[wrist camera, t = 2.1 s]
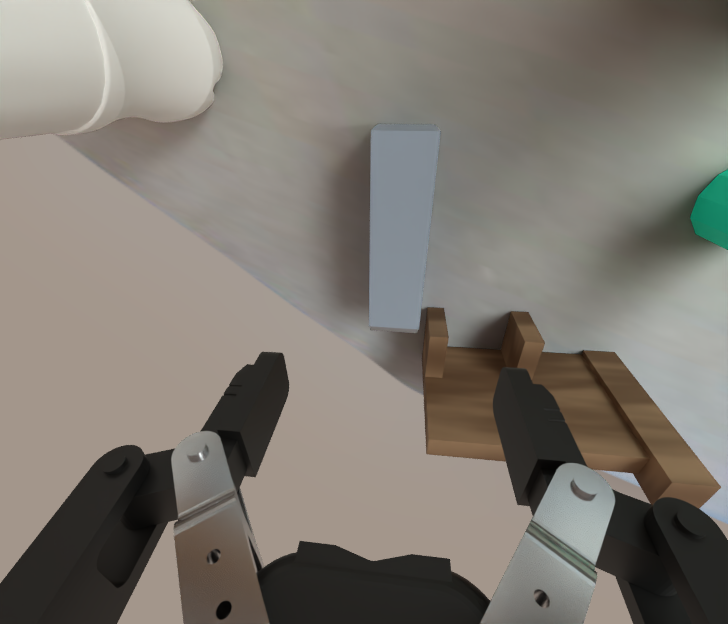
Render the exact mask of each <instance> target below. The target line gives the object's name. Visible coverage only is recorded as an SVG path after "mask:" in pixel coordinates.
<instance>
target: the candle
mask: <svg viewBox="0 0 728 624" xmlns="http://www.w3.org/2000/svg"><path fill="white" fill-rule="evenodd" d="M690 219H691V222H692V225H693V228H694V231H695V234H697V235H699V236H701V237H703V238H705V239H707V240H709V241H711V242H713V243H715V244H717V245H719V246H721V247H723V248H725V249H727V250H728V170H726V171H724V172H722V173H720V174H719V175H718V176H717V177H716V178H715V179H714V180H713V181H712V182H711V183H710V184H709V185H708V186H707V187H706V188H705V189H704V190H703V191H702V192H701V193H700V194H699V195H698V197H697V200H696V203H695V206H694V208H693V211H692V214H691V217H690Z"/></svg>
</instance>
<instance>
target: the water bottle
mask: <svg viewBox="0 0 728 624" xmlns="http://www.w3.org/2000/svg"><path fill="white" fill-rule="evenodd" d="M222 69H223V60H222V55H221V50H220V46H219V43H218V41H217V38H216V35H215V33H214V31H213V30H212V28H211V26H210V25H209V24H208V22H207V21H206V20H205V19H204V17H203V16H202V15H201V14H200V13H199V12H198V11H197V10H196V9H195V7H194V6H193V5H192V4H191V2H190V0H0V139H9V138H17V137H26V136H34V135H43V134H56V135H73V134H81V133H88V132H92V131H95V130H98V129H101V128H103V127H105V126H106V125H108V124H110V123H112V122H114V121H116V120H118V119H122V118H129V117H137V118H143V119H146V120H150V121H154V122H164V123H167V122H176V121H182V120H186V119H190V118H193V117H195V116H197V115H199V114H201V113H202V112H204V111H205V110H206V109H207V108H208V107H210V106H211V104H212V103H213V101H214V98H215V97H214V92H213V88H214V86H215V84H216V83H217V82H218V81H219V80H220V78H221V75H222Z"/></svg>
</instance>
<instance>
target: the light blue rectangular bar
mask: <svg viewBox="0 0 728 624" xmlns="http://www.w3.org/2000/svg"><path fill="white" fill-rule="evenodd" d="M440 134H441V131H440V130H439V128H438V127H437V126H436V125H435V124H377V125H376V126H375V127H374V128H373V129H372V130H371V175H370V278H369V326H370V330H376V331H391V332H406V333H417V329H418V330H419V324H420V315H421V306H422V297H423V288H424V279H425V270H426V260H427V251H428V242H429V233H430V224H431V215H432V206H433V197H434V188H435V179H436V170H437V161H438V152H439V143H440Z"/></svg>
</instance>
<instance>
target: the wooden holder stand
mask: <svg viewBox="0 0 728 624" xmlns="http://www.w3.org/2000/svg"><path fill="white" fill-rule="evenodd" d="M448 338H449V337H448V331H447V325H446V319H445V312H444V308H431V307H427V316H426V326H425V335H424V345H423V354H422V369H423V390H424V411H425V432H426V453H427V454H431V455H442V456H453V457H463V458H474V459H485V460H496V461H506V459H505V456H504V452H503V448H502V444H501V440H500V437H499V433H498V429H497V425H496V421H495V418H494V414H493V397H494V393H495V389H496V386H497V382H498V379H499V375H500V371H501V369H502V368H503V367H510V368H525V369H527V371H528V373H529V375H530V377H531V380H532V382H533V384H542V385H543V386H544V387H545V388H546V389H547V390H548V391H549V392H550V393H551V394H552V395H553V396H554V398H555V400H556V402H557V404H558V406H559V408H560V412H562V415H563V417H564V419H565V423H567V425H568V427H569V429H570V431H571V433H572V435H573V438H574V440H575V442H576V444H577V446H578V448H579V450H580V452H581V454H582V456H583V458H584V461H585V463H586V465H587V466H588V468H590V469H595V470H605V471H616V472H627V473H633V474H634V476H635V478H636V479H637V481H638V483H639V485H640V486H641V488H642V490H643V491H644V493H645V495H646V496H647V498H648V500H649V502H650V503H651V504H652V505H653V504H654V503H655V502H656V501H657V500H658V499H660V498H663V497H672V498H677V499H680V500H683V501H685V502H688V503H690V504H692V505H693V506H695V507H697V508H698V509H699V508H700V507H701V506H702V505H703V504H704V503H705V502H707V501H708V500H709V499H710V498H711V497H712V496H713V495H714V494H715V493H716V492H717V491H718V490H719V489H720V488H721V486H720V485H719V484H718V483H717V481H716V480H715V479H714V477H713V476H712V475H711V474H710V472H709V471H708V470H707V469H706V467H705V466H704V465H703V464H702V462H701V461H700V460H699V458H698V457H697V456H696V455H695V453H694V452H693V451H692V450H691V448H690V447H689V446H688V444H687V443H686V442H685V441H684V439H683V438H682V437H681V436H680V434H679V433H678V432H677V431H676V429H675V428H674V427H673V425H672V424H671V423H670V422H669V420H668V419H667V418H666V417H665V415H664V414H663V413H662V412H661V410H660V409H659V408H658V406H657V405H656V404H655V403H654V401H653V400H652V399H651V398H650V396H649V395H648V394H647V393H646V391H645V390H644V389H643V387H642V386H641V385H640V384H639V382H638V381H637V380H636V379H635V377H634V376H633V375H632V373H631V372H630V371H629V370H628V368H627V367H626V366H625V365H624V363H623V362H622V361H621V360H620V358H619V357H618V356H617V354H616V353H615V352H601V351H584V350H583V352H582V355H581V354H565V353H548V352H542V350H543V347H544V344H545V342H544V340H543V339H542V337H541V335H540V333H539V331H538V329H537V328H536V326H535V324H534V322H533V320H532V318H531V316H530V315H529V313H528V312H514V311H511V313H510V317H509V321H508V324H507V328H506V332H505V335H504V339H503V343H502V347H501V350H497V349H480V348H463V347H447V344H448Z"/></svg>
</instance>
